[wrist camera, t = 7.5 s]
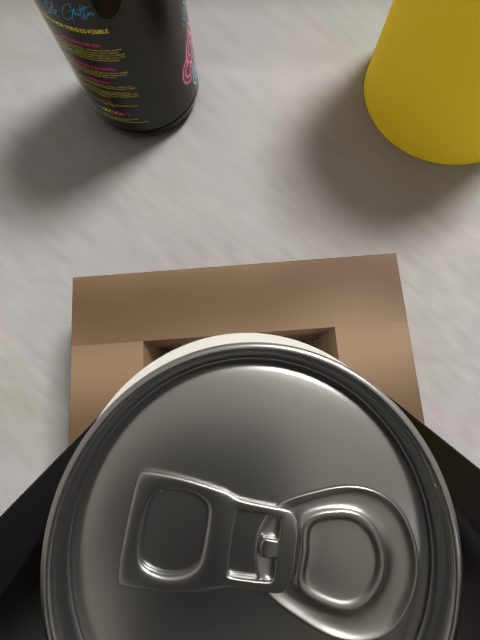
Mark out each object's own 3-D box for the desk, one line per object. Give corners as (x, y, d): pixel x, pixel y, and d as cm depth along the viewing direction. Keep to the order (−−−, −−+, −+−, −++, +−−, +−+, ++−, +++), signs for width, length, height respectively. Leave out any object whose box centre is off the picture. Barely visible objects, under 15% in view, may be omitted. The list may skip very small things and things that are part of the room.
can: (291, 517, 16) (494, 912, 4) (152, 494, 16) (-72, 827, 4) (308, 376, 17) (499, 350, 5) (180, 355, 17) (76, 279, 5)
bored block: (406, 567, 16) (458, 627, 12) (109, 587, 16) (64, 654, 12) (364, 281, 19) (395, 253, 15) (109, 300, 19) (73, 277, 15)
